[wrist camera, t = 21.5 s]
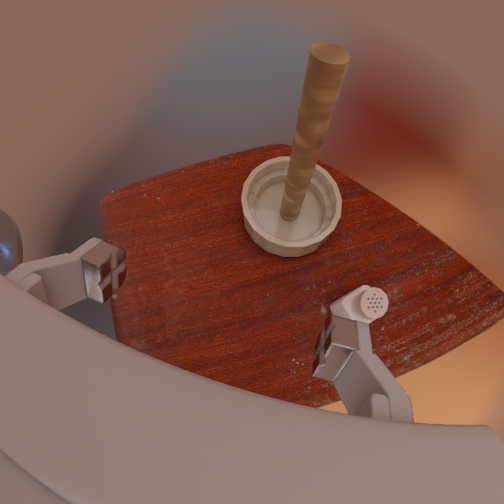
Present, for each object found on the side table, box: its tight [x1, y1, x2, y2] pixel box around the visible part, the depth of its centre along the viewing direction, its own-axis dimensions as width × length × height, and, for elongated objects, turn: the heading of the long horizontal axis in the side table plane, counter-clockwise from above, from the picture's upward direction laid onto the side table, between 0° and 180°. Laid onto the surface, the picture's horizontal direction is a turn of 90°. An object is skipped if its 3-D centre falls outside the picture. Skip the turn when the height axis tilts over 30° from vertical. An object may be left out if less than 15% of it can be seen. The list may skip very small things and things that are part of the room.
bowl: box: [241, 156, 342, 257], centre depth 38 cm, size 12×13×5 cm
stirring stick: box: [280, 42, 350, 222], centre depth 27 cm, size 3×3×26 cm
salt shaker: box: [330, 285, 389, 324], centre depth 32 cm, size 4×4×10 cm
